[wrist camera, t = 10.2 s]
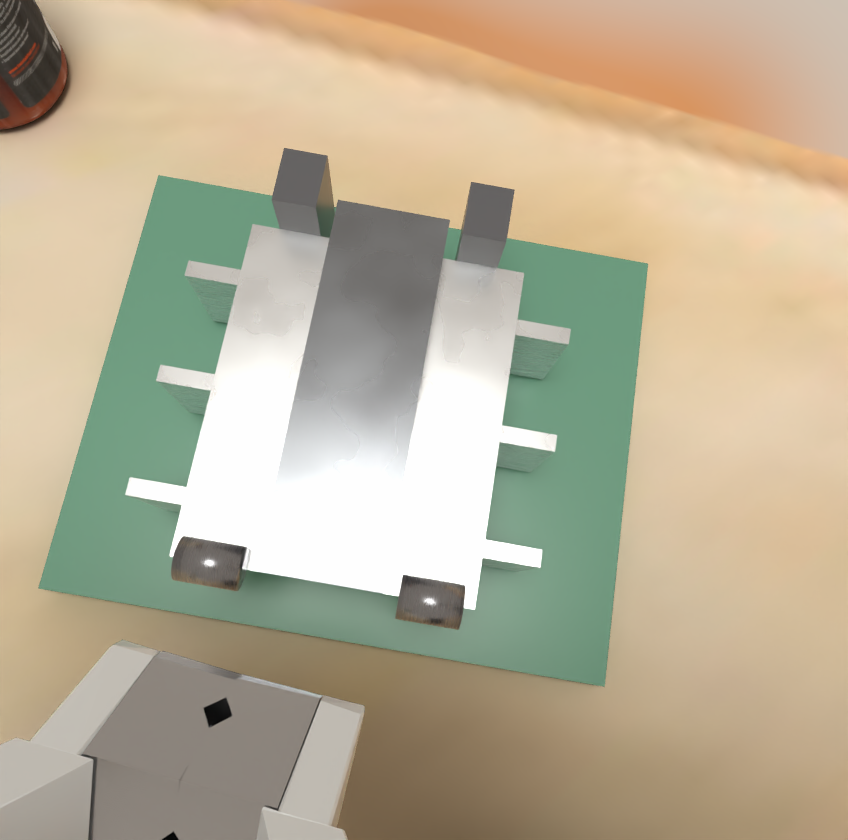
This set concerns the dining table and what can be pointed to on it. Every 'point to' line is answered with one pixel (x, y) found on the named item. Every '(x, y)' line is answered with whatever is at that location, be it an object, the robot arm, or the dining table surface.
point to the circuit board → (512, 489)
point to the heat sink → (430, 442)
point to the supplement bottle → (28, 64)
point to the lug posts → (314, 210)
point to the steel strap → (355, 400)
